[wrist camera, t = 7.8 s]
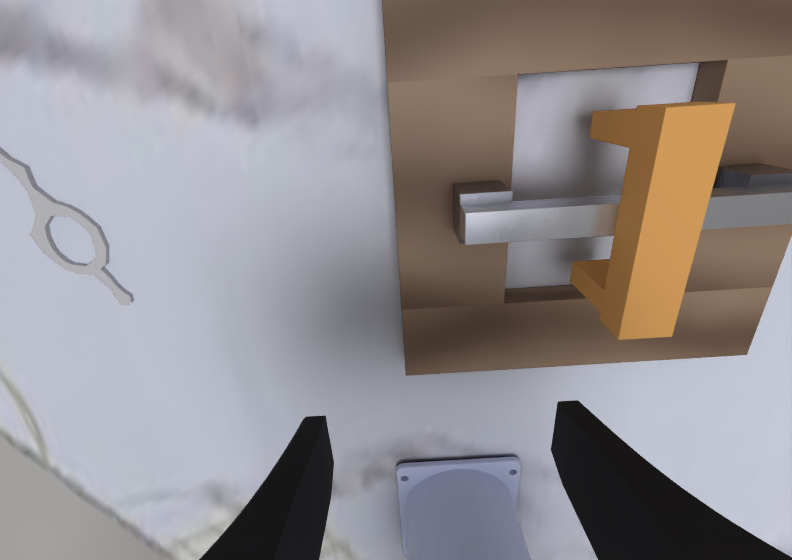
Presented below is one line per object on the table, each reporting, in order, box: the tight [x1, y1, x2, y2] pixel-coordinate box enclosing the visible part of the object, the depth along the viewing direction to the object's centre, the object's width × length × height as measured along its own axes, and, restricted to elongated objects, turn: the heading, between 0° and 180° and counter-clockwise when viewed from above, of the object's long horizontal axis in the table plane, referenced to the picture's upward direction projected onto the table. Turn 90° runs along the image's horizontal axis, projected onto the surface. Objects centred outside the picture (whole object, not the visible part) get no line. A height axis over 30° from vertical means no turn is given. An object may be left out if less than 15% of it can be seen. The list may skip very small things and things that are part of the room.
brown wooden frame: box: [382, 0, 792, 376], centre depth 18 cm, size 18×18×2 cm
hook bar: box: [453, 163, 792, 245], centre depth 16 cm, size 2×13×3 cm, turn 93°
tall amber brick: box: [570, 102, 736, 340], centre depth 15 cm, size 8×2×4 cm, turn 3°
